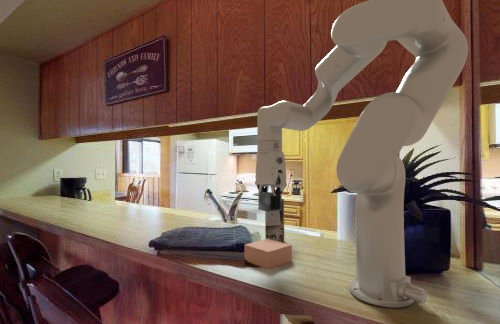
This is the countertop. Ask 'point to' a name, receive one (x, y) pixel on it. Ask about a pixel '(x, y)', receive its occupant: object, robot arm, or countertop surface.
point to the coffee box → (275, 225)
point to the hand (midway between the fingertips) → (269, 207)
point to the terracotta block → (268, 253)
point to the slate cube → (266, 202)
